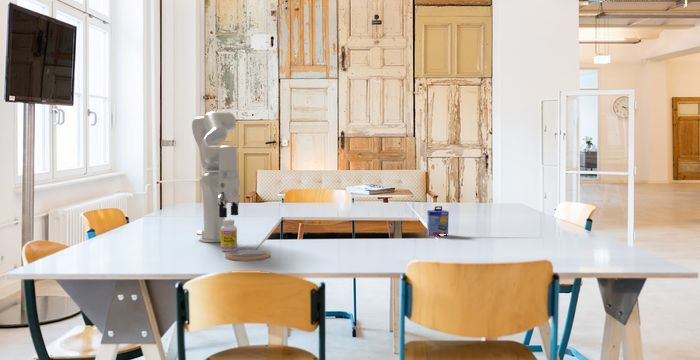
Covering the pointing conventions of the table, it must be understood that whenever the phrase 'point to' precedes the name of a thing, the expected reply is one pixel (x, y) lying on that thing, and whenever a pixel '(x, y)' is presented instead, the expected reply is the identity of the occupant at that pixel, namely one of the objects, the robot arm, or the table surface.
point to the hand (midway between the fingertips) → (228, 216)
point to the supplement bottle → (228, 236)
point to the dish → (247, 255)
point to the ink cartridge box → (437, 221)
